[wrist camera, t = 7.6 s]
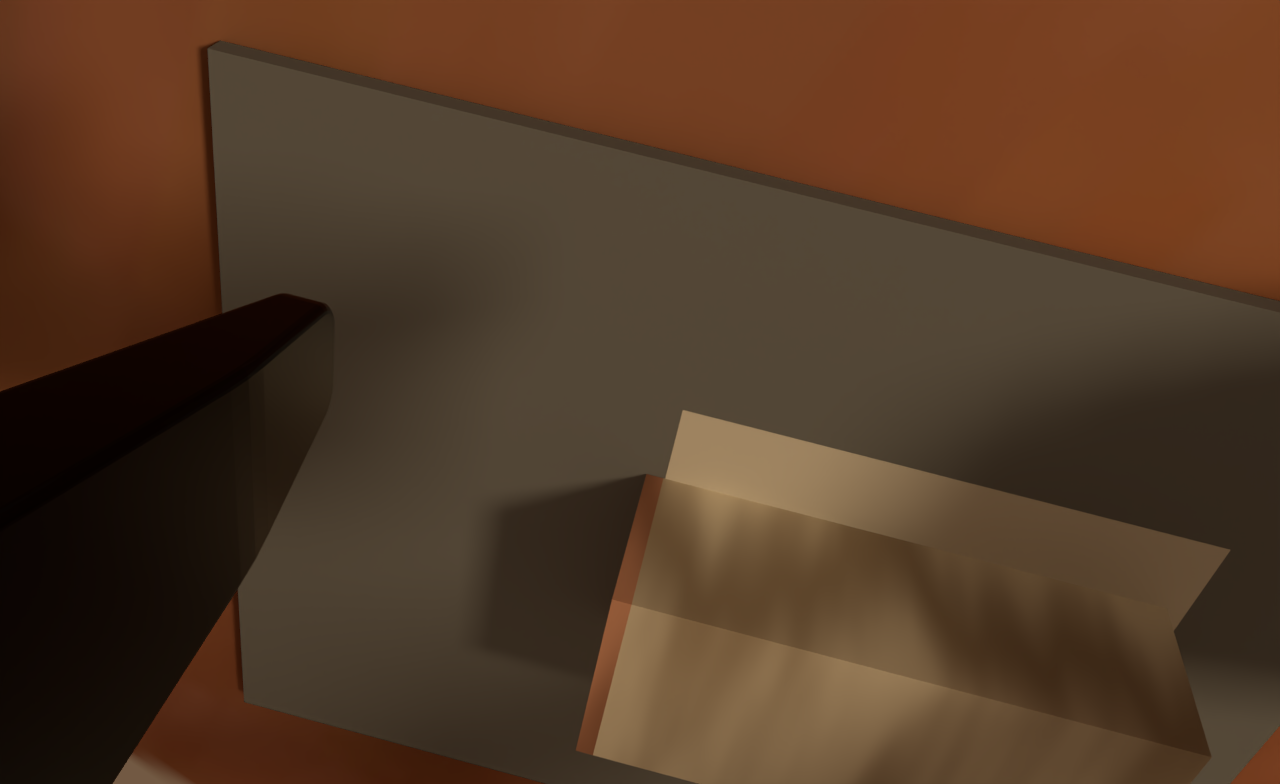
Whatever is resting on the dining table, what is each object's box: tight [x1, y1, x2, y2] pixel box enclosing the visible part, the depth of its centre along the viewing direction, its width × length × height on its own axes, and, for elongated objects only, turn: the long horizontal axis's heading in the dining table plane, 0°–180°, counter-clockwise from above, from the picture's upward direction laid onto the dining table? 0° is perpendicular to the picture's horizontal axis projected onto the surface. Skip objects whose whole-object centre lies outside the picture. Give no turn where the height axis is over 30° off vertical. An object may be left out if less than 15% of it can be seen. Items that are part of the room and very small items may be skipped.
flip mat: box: [208, 41, 1280, 784], centre depth 26 cm, size 26×20×1 cm
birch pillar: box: [576, 474, 1212, 784], centre depth 24 cm, size 4×5×12 cm
